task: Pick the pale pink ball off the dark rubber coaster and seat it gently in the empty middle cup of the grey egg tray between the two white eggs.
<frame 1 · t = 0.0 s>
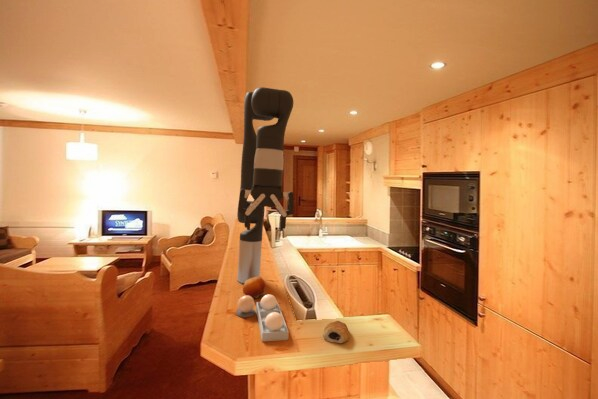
hand: (264, 230, 75), 29 cm above the worktop, tool pointing down, fingers open, 8 cm apart
pale pink ball: (246, 303, 91), point 3 cm above the worktop, touching mat
fruit: (253, 296, 106), on the worktop
egg 1: (268, 302, 92), point 3 cm above the worktop, touching carton
carton: (270, 322, 86), on the worktop
egg 2: (274, 322, 80), point 3 cm above the worktop, touching carton
mat: (245, 313, 91), on the worktop
pastry: (335, 337, 81), on the worktop
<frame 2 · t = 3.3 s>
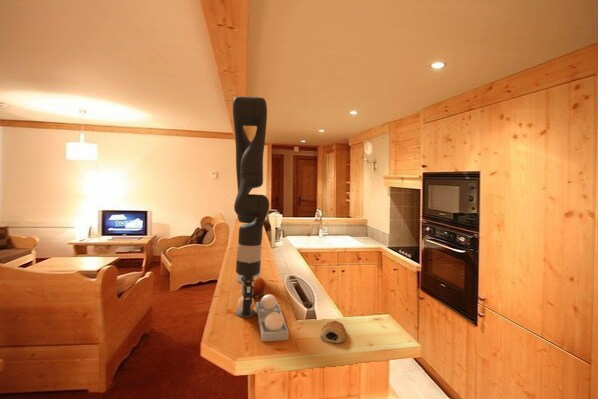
hand: (245, 310, 91), 1 cm above the worktop, tool pointing down, fingers closed on pale pink ball, 5 cm apart
pale pink ball: (246, 303, 91), point 3 cm above the worktop, touching gripper, mat
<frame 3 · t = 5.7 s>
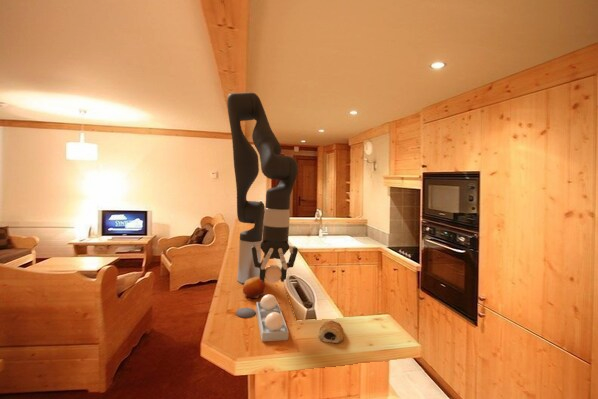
hand: (272, 280, 85), 13 cm above the worktop, tool pointing down, fingers closed on pale pink ball, 5 cm apart
pale pink ball: (273, 273, 85), point 15 cm above the worktop, touching gripper
when the fingers open (3 cm above the worktop, at t = 7.9 s): pale pink ball drops 1 cm, resting on carton.
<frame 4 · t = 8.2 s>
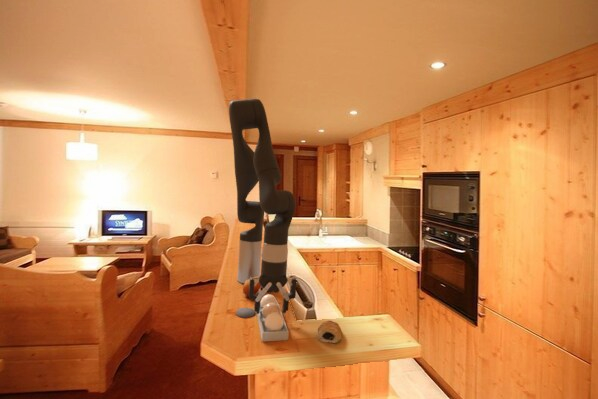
hand: (271, 312, 86), 3 cm above the worktop, tool pointing down, fingers open, 7 cm apart
pale pink ball: (271, 311, 86), point 3 cm above the worktop, touching carton
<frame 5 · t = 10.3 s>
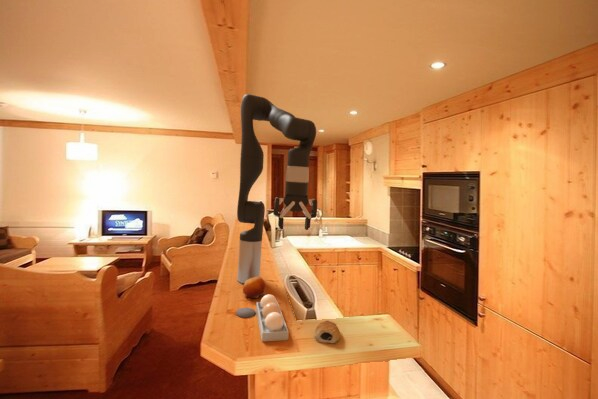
hand: (294, 229, 96), 27 cm above the worktop, tool pointing down, fingers open, 8 cm apart
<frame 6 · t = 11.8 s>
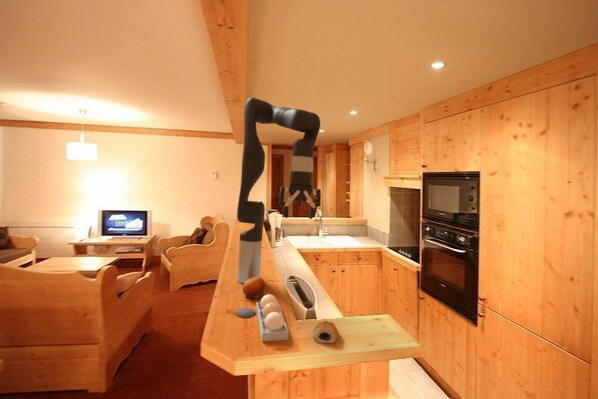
hand: (298, 218, 99), 30 cm above the worktop, tool pointing down, fingers open, 8 cm apart
at the end: pale pink ball 0.1 cm off-centre on the carton, point 3.4 cm above the carton's base; the gripper is holding nothing; egg 1 12.6 cm from the egg 2 (horizontally) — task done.
